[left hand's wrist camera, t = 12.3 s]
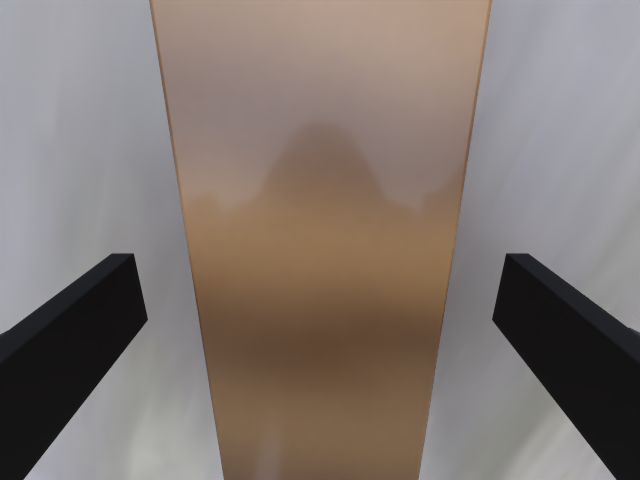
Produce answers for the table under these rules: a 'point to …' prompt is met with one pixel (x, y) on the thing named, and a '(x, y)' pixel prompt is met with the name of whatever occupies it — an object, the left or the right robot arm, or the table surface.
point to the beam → (320, 217)
